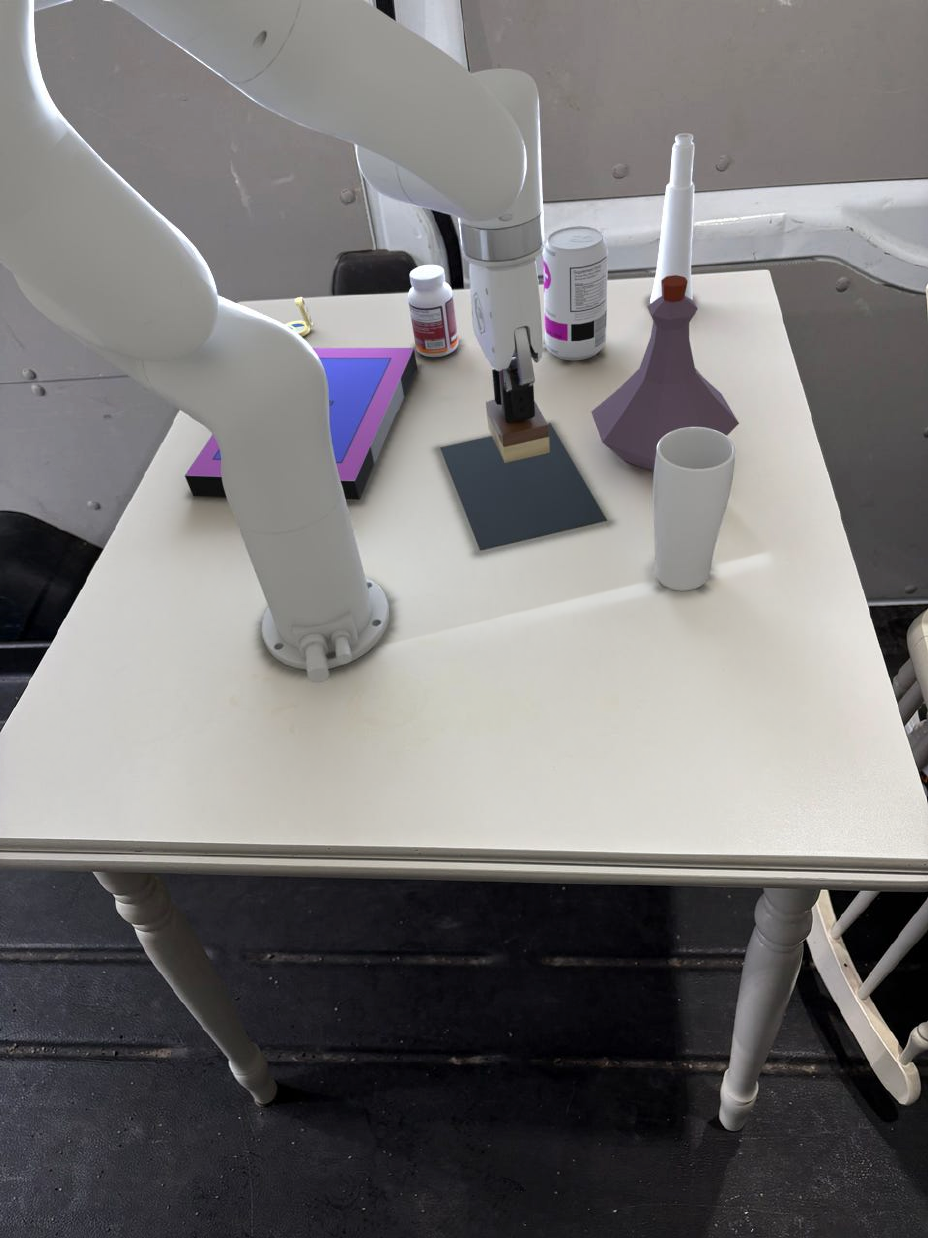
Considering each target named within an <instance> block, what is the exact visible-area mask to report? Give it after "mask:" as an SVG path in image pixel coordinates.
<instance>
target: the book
mask: <svg viewBox="0 0 928 1238" xmlns="http://www.w3.org/2000/svg"><path fill="white" fill-rule="evenodd" d="M312 349H313V350H314V351H315V352H316V354H317V355H318V357H319V359H320V361H321V363H322V365H323V367H324V370H325V373H326V377H327V381H328V389H329V420H330V432H331V440H332V446H333V451H334V456H335V460H336V465H337V469H338V473H339V477H340V481H341V484H342V487H343V491H344V495H345V499H346V500H352V501H354V500H356V501H360V500H361V497H362V495H363V492H364V491H365V487H366V486H367V483H368V481H369V478H370V476H371V474H372V472H373V469H374V466H375V464H376V462H377V460H378V457H379V455H380V453H381V450H382V448H383V447H384V444H385V441H386V439H387V436H388V434H389V432H390V429H391V426H392V424H393V422H394V420H395V418H396V415H397V413H398V412H400V409H401V406H402V405H403V402H404V400H405V397H406V395H407V393H408V390H409V388H410V386H411V384H412V381H413V379H414V376H415V374H416V371H417V370H418V364H417V363H418V362H417V357H416V351H415V347H312ZM211 434H212V433H211ZM184 477H185V481H186V483H187V485H188V487H189V490H190V493H191V495H192V496H193V497H207V498H208V497H209V498H210V497H211V498H227V497H226V493H225V490H224V487H223V482H222V476H221V453H220V449H219V445H218V443H217V441H216V439H215V437H214V436H213V434H212V435H210V437H209V439H208V440H207V441H206V443H205V445H204V446H203V448H202V449H201V451H200V452H199V454H198V455H197V456H196V458H195V459H194V460H193V462H192V464H191V465H190V467H189V468H188V470H187V471H186V473H185V474H184Z"/></svg>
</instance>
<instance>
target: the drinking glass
mask: <svg viewBox="0 0 928 1238" xmlns="http://www.w3.org/2000/svg"><path fill="white" fill-rule="evenodd" d="M736 451H737V450H736V445H735V443H734V441H733V440H732V439H731V438H730V437H729V436H728V435H727V436H726V435H725V434H723V433H721V432H719V431H716V430H713V429H709V428H704V427H686V428H680V429H677V430H674V431H671V432H669V433H667V434H666V435H664V436H663V437H662V438H661V439H660V441H659V442H658V445H657V450H656V457H655V465H654V472H653V477H652V499H653V500H652V502H653V504H652V505H653V527H654V528H653V531H654V532H653V533H654V535H653V536H654V560H653V573H654V576H655V579H657V581H658V582H659V583H660V584H662V586H664V587H666V588H668V589H670V590H674V591H679V592H687V591H692V590H696V589H698V588H700V587H702V586H703V585H704V584H705V583H706V582H707V581H708V580H709V577H710V575H711V569H712V568H711V567H712V563H713V557H714V554H715V551H716V546H717V542H718V539H719V535H720V531H721V527H722V523H723V521H724V517H725V513H726V509H727V505H728V502H729V498H730V494H731V491H732V484H733V480H734V474H735V473H734V472H735V464H736V463H735V462H736Z"/></svg>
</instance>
